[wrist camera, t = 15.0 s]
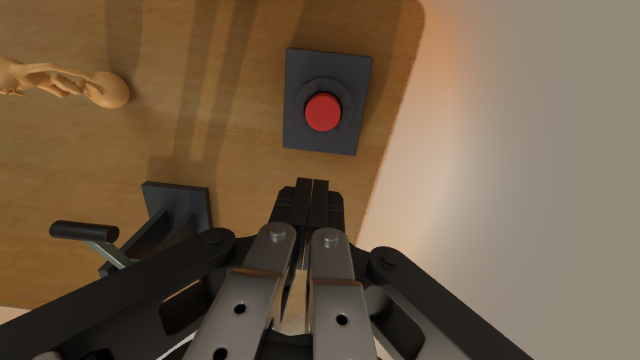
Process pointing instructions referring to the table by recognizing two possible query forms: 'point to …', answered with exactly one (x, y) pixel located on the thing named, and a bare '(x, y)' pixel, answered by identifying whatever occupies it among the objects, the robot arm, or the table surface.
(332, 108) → the button
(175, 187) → the bracket
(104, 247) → the lever
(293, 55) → the button block
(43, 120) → the table surface
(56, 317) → the robot arm
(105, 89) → the figurine
